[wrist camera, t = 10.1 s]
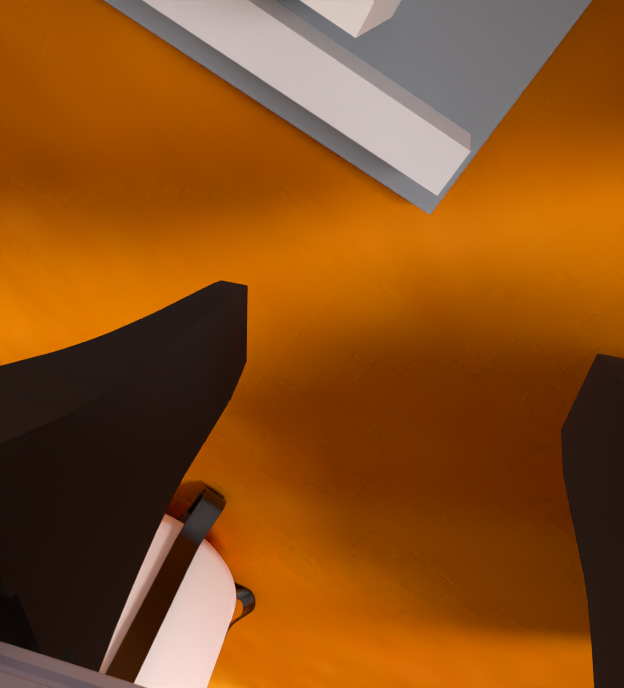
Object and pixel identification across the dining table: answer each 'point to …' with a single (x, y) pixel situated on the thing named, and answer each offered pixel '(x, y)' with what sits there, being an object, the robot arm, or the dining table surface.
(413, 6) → the rail plate
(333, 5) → the block
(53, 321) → the dining table surface
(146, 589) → the coffee press
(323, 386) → the dining table surface
